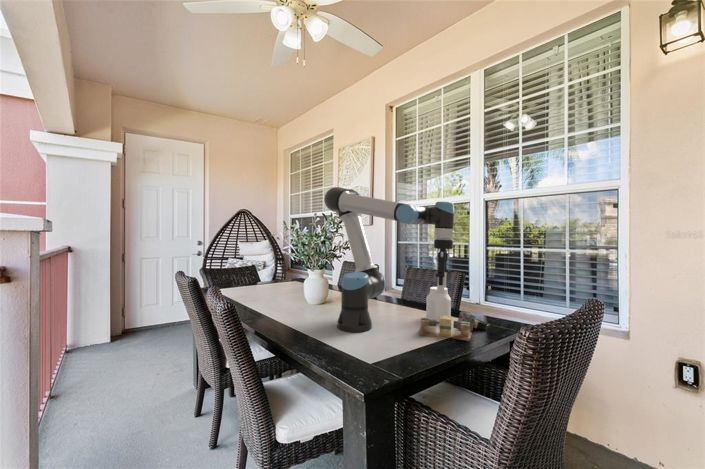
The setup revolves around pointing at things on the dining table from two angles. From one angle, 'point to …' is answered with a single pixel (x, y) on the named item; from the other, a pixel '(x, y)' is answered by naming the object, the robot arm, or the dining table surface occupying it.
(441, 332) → the block
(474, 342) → the dining table surface
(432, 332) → the shaft left
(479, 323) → the caster wheel
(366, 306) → the robot arm
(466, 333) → the shaft right
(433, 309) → the jar
